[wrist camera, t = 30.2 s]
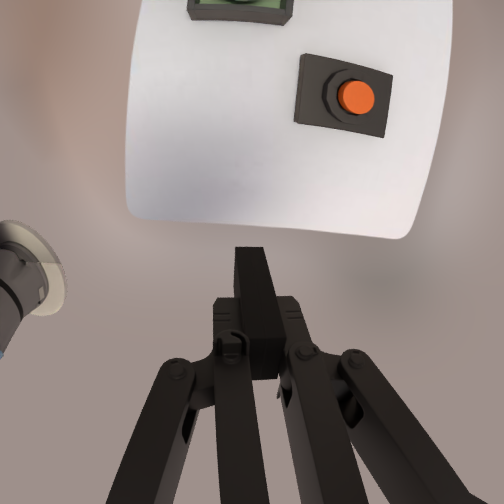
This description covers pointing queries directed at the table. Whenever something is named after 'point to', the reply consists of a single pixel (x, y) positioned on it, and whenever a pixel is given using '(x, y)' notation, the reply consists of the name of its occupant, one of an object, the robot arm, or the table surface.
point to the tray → (242, 10)
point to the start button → (356, 97)
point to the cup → (242, 0)
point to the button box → (326, 95)
